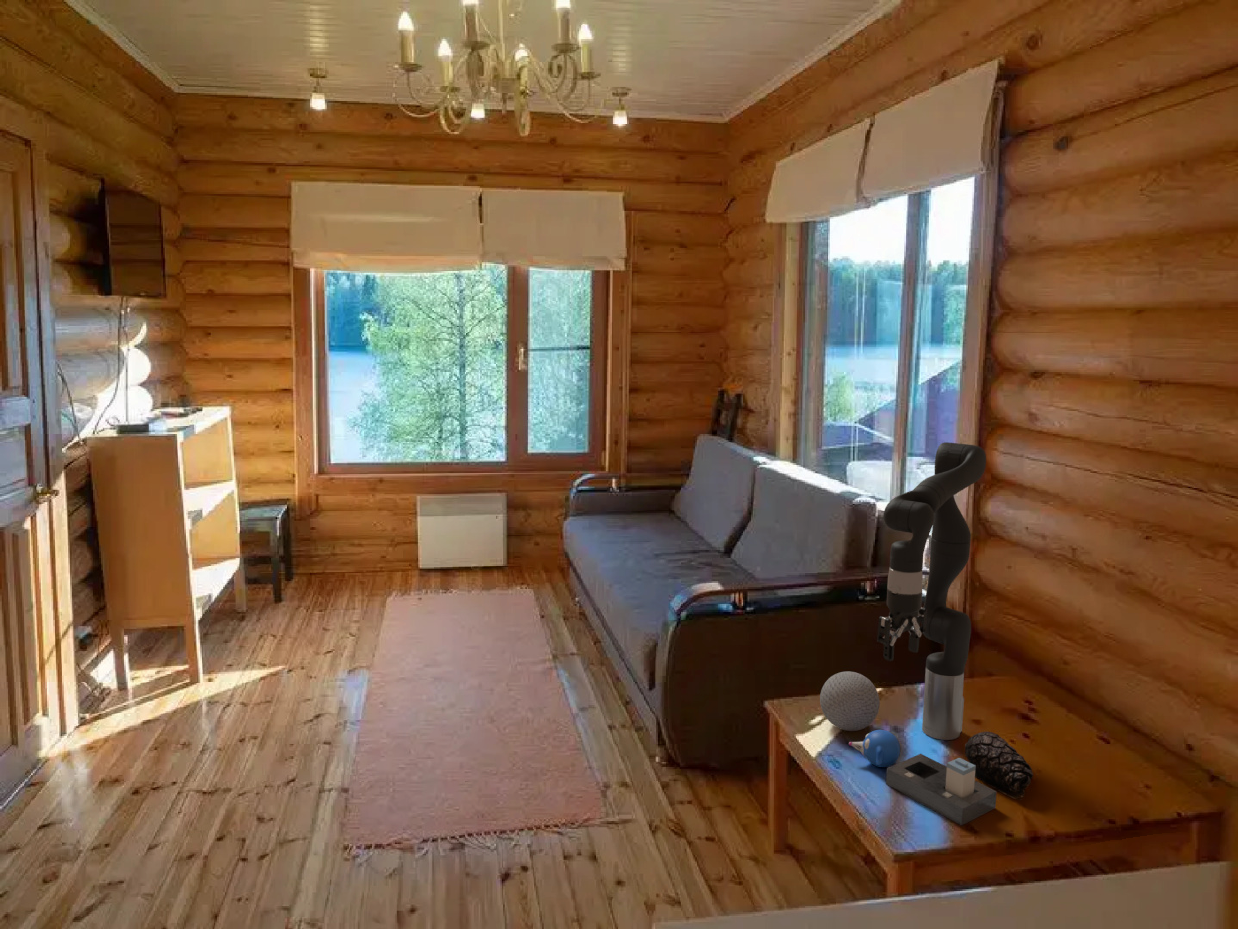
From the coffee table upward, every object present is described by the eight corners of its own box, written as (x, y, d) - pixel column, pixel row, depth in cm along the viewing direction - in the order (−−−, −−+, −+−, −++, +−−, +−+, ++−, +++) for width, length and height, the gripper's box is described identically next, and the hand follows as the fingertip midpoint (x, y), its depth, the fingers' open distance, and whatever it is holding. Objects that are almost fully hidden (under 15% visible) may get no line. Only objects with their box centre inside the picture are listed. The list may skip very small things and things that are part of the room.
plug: (956, 798, 199) (959, 755, 197) (972, 807, 195) (975, 763, 194) (944, 804, 197) (947, 760, 195) (960, 813, 193) (963, 768, 191)
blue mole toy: (849, 748, 222) (851, 716, 220) (899, 755, 218) (901, 723, 217) (846, 771, 210) (847, 738, 209) (898, 780, 207) (900, 746, 205)
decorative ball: (881, 744, 224) (884, 688, 221) (820, 739, 226) (822, 683, 224) (875, 717, 238) (877, 664, 236) (817, 712, 241) (819, 660, 238)
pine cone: (1016, 805, 196) (1020, 763, 195) (954, 768, 212) (957, 729, 210) (1049, 793, 201) (1052, 752, 199) (985, 758, 217) (988, 720, 215)
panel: (919, 769, 212) (920, 752, 211) (995, 808, 195) (996, 790, 194) (886, 784, 205) (886, 767, 204) (961, 825, 189) (962, 807, 188)
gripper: (911, 578, 207) (907, 644, 210) (870, 589, 199) (866, 657, 202) (939, 586, 201) (934, 654, 203) (897, 598, 193) (893, 668, 196)
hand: (900, 655), depth 203 cm, fingers open, 8 cm apart
